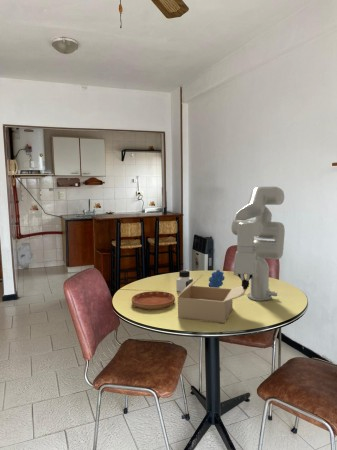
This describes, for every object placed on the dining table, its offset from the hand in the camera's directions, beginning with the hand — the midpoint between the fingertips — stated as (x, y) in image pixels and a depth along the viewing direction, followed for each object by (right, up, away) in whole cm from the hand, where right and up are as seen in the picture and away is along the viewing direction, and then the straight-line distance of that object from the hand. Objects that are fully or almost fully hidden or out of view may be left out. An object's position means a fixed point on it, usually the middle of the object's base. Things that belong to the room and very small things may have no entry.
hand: (245, 288), depth 160 cm
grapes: (-8, -9, +45) cm, 47 cm away
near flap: (-3, -2, +2) cm, 4 cm away
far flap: (-24, 0, +10) cm, 26 cm away
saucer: (-43, -13, +24) cm, 51 cm away
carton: (-17, -14, +9) cm, 24 cm away
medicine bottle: (-26, -10, +45) cm, 53 cm away
